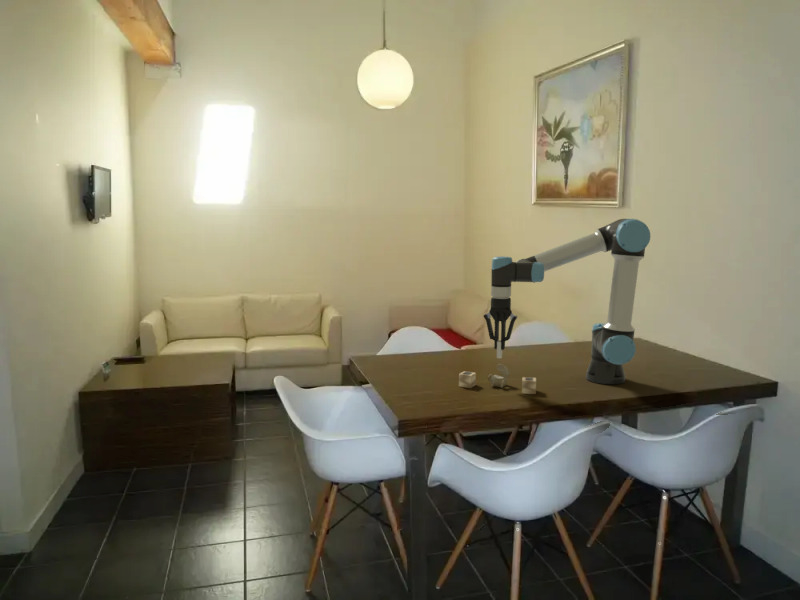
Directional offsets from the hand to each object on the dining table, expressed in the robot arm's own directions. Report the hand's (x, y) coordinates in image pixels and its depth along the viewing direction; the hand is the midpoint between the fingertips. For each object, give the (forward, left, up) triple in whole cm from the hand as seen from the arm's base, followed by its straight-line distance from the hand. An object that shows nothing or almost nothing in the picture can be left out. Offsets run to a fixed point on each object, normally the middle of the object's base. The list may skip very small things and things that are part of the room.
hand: (499, 357), depth 241 cm
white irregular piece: (0, 0, -12) cm, 12 cm away
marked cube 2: (-12, +3, -12) cm, 17 cm away
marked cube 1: (+12, +3, -12) cm, 17 cm away
